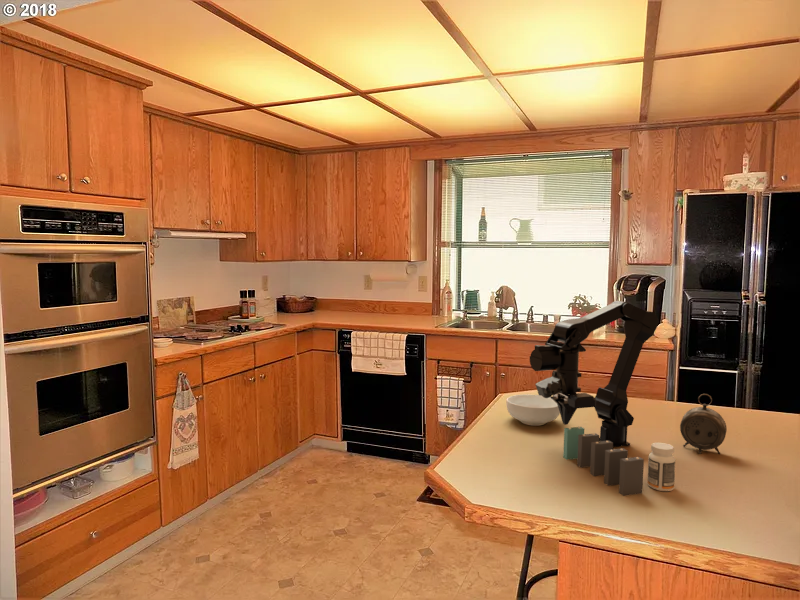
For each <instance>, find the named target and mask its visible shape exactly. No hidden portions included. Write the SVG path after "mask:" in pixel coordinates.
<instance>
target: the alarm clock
mask: <svg viewBox="0 0 800 600" xmlns="http://www.w3.org/2000/svg"><path fill="white" fill-rule="evenodd" d="M702 396H707V397H709V399H710V403H709V404H706V403H701V402H700V399H701V397H702ZM697 400H698V401H697V402H698V403H699V405H702V406H698V407H693V408H690V409H689V410H687V411H686V412H685V413H684V414H683V416H682V419H681V421H680V425H679V430H680V435H681V436H682V438H683V439H684V441H685V443H684V444H683V445H682V447H683V448H686V447H687V446H688V445H690V446H691V447H693V448H696V449H698V454H700V455H701V454H702V451H703V450H704V451H708V450H709V451H710V450H715V451H716V452H717V454H718V455H721V451H720V450H719V448H718V447H720V446H721V445H722V444H723V442H724V441H725V439H726V434H727V432H728V431H727V423H726V421H725V419H724V417H723V416H722V415H721V414H720V413H719V412H717V411H715V410H714V409H712V408H709V407H708V406H710V405H711V404H712V402H713V398H712V396H711V395H709V394H708V393H702V394H700V395H699V396H698V397H697Z"/></svg>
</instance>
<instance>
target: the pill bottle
mask: <svg viewBox="0 0 800 600" xmlns="http://www.w3.org/2000/svg"><path fill="white" fill-rule="evenodd" d="M650 446H651V447H650V449H651V452H650V453H649V455H648V462H647V463H648V465H647V466H648V467H647V468H648V469H647V485H648V486H649V487H650V488H652V489H653V490H657V491H658V492H671V491H673V490H674V489H675V481H676V480H675V479H676V478H675V477H676V474H675V473H676V460H677V459H676V457H675V456H674V455H673V454H674V450H675V449H674V446H673V445H672V444H669V443H666V442H658V441H657V442H653V443H651V445H650Z"/></svg>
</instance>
